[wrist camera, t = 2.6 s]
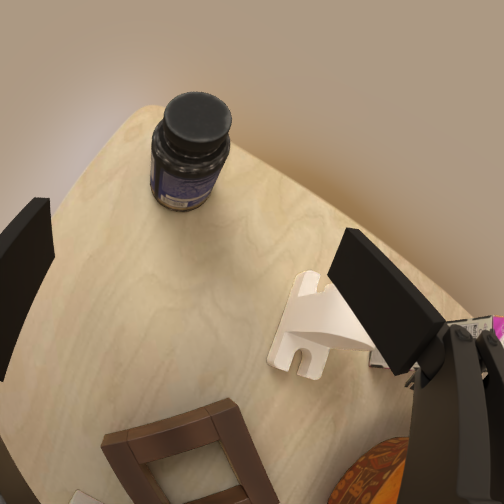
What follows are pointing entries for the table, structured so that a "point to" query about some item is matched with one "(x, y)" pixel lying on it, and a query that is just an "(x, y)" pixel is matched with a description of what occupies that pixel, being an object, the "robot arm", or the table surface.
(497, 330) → the candy bar box
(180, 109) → the pill bottle
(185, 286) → the table surface
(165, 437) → the dock
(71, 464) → the table surface
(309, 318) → the cable organizer
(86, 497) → the ink box
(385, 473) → the bowl
